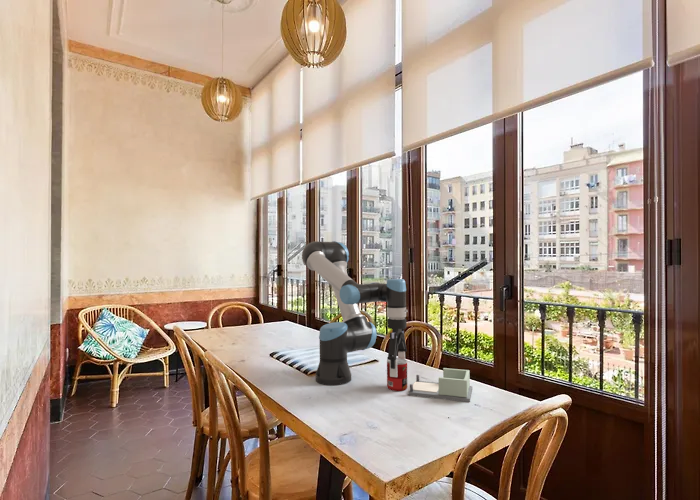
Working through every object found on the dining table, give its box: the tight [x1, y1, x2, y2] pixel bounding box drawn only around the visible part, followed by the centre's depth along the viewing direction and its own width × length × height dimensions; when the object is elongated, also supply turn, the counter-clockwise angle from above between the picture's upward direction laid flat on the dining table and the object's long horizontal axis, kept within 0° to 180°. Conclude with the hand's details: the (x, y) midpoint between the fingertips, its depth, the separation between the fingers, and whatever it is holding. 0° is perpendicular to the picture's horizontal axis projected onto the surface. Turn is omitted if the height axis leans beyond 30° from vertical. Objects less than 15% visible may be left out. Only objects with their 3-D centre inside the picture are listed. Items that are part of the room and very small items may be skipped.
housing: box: [438, 367, 471, 397], centre depth 157 cm, size 10×14×6 cm
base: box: [408, 374, 473, 403], centre depth 158 cm, size 22×15×4 cm
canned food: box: [386, 357, 408, 392], centre depth 163 cm, size 8×8×11 cm
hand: (397, 372), depth 163 cm, fingers open, 13 cm apart
